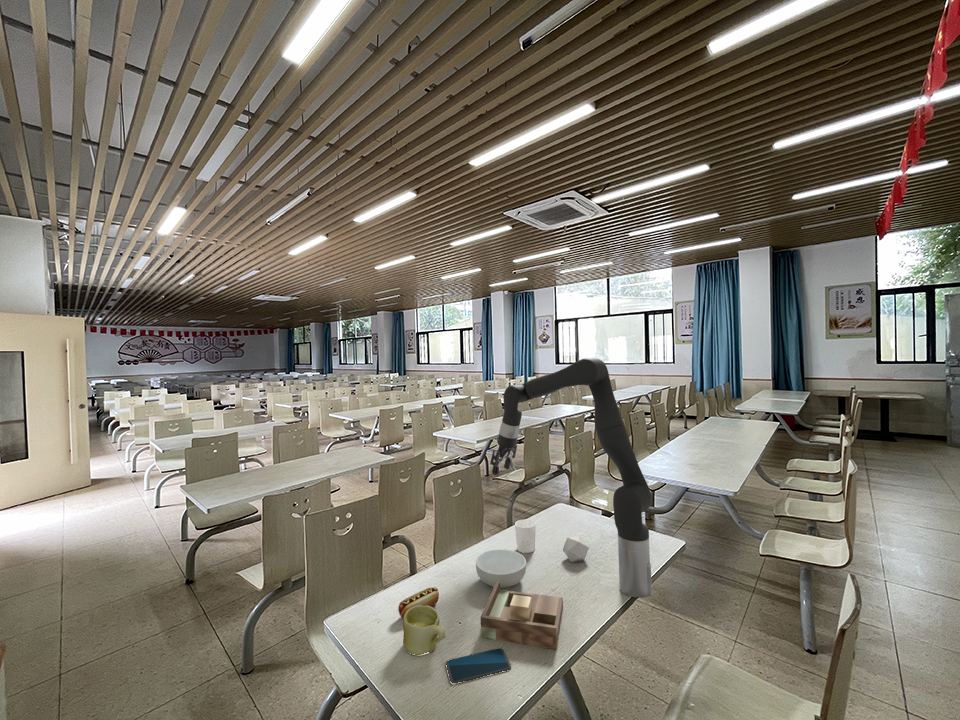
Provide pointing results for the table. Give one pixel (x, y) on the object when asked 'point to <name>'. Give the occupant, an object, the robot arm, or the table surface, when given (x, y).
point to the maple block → (521, 608)
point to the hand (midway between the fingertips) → (500, 471)
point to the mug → (421, 630)
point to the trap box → (532, 633)
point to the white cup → (525, 535)
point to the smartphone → (477, 665)
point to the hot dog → (419, 600)
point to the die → (575, 548)
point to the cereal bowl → (501, 567)
